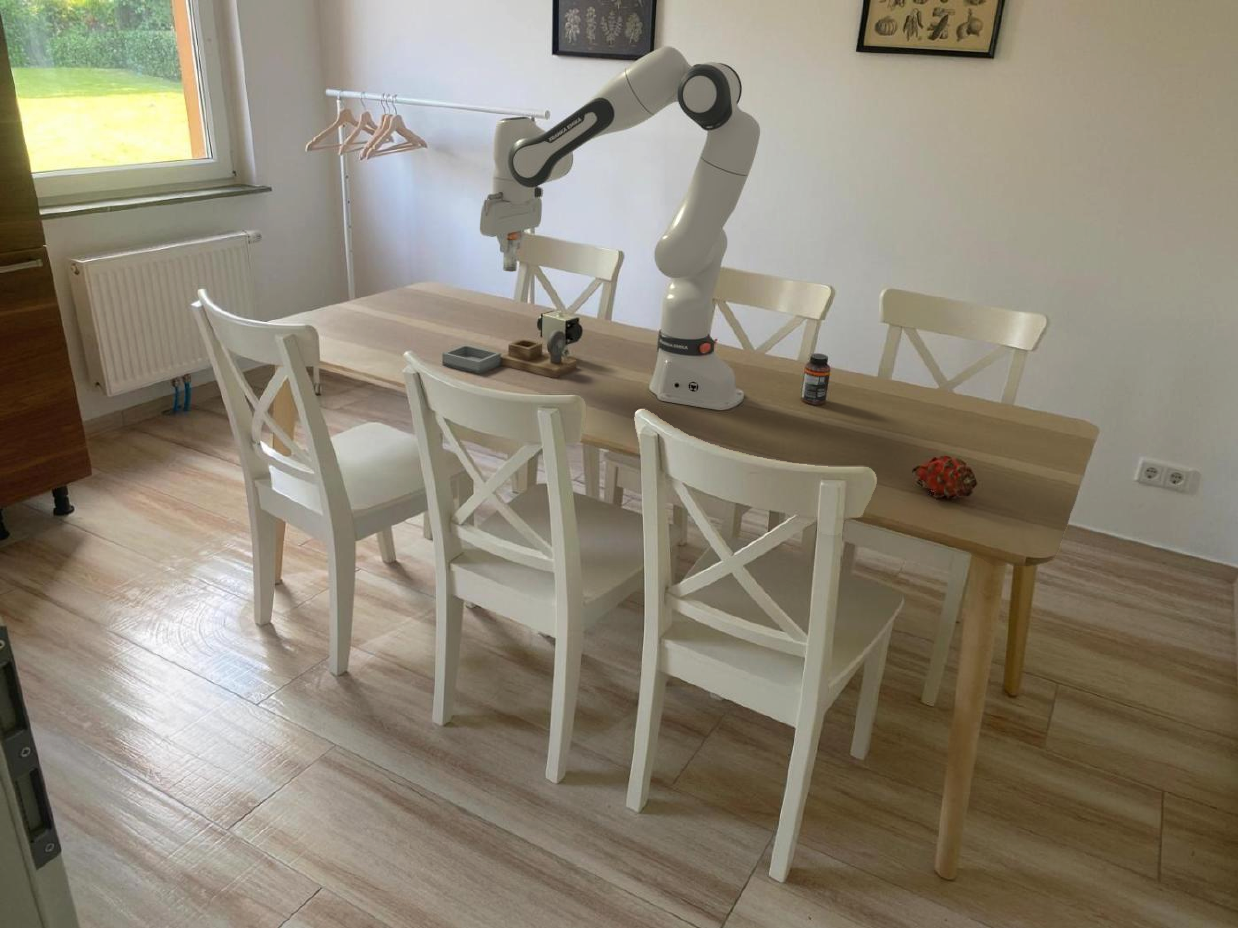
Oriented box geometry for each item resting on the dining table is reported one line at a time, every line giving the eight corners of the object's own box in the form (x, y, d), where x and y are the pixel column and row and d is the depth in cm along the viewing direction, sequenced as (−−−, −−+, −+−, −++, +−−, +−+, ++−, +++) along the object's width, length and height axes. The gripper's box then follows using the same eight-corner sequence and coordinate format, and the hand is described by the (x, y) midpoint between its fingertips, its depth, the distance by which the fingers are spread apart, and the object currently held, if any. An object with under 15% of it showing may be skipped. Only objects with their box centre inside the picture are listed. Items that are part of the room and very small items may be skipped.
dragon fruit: (974, 514, 168) (909, 503, 174) (986, 477, 171) (922, 468, 178) (969, 489, 161) (902, 479, 168) (981, 451, 165) (916, 442, 172)
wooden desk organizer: (576, 367, 226) (577, 329, 222) (555, 378, 218) (556, 338, 214) (523, 355, 233) (523, 317, 229) (500, 364, 225) (500, 325, 221)
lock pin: (519, 270, 217) (520, 232, 213) (511, 272, 215) (512, 234, 211) (508, 267, 219) (509, 230, 215) (500, 269, 216) (501, 231, 212)
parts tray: (500, 364, 225) (500, 353, 224) (478, 374, 217) (478, 362, 216) (465, 356, 229) (464, 344, 228) (442, 365, 222) (442, 353, 221)
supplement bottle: (809, 395, 218) (816, 350, 213) (830, 402, 214) (837, 356, 210) (794, 400, 214) (801, 354, 209) (815, 407, 210) (823, 361, 206)
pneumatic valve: (570, 364, 228) (572, 318, 223) (535, 353, 235) (536, 308, 230) (584, 359, 233) (586, 314, 228) (549, 349, 239) (551, 304, 234)
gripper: (496, 197, 199) (495, 259, 205) (547, 189, 216) (544, 247, 221) (473, 193, 202) (472, 255, 208) (525, 185, 218) (523, 242, 224)
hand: (510, 250), depth 215 cm, fingers closed on lock pin, 3 cm apart
